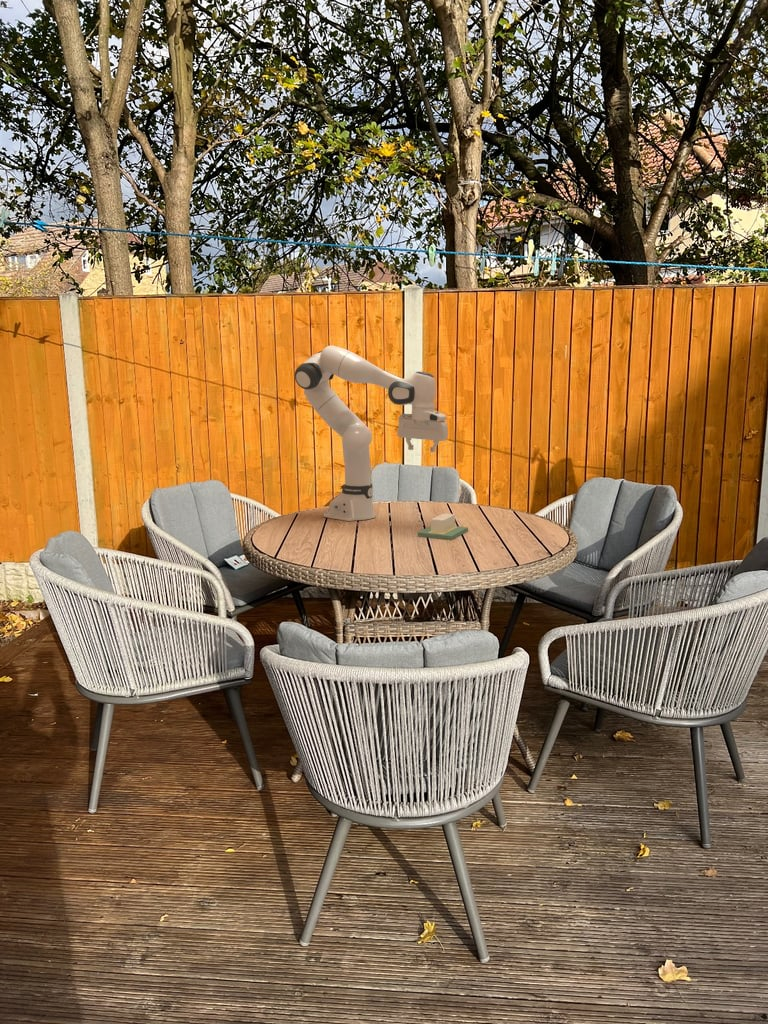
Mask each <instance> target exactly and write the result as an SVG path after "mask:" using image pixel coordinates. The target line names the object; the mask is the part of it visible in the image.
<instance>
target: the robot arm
mask: <svg viewBox="0 0 768 1024" xmlns="http://www.w3.org/2000/svg"><path fill="white" fill-rule="evenodd" d="M334 376H336V377H337V378H340V379H343V380H344V381H347V382H350V383H354V384H372V385H375V386H379V387H382V388H384V389H386V390H388V391H387V394H388V395H387V396H388V399H389V400H390V402H392V403H393V404H394V405H398V406H405V405H411V413H402V414H399V416H398V425H397V436H398V437H399V438H402V439H403V438H405V442H406V444H407V447H408V448H407V449H408V450H410V451H413V450H414V446H415V445H414V444H412V439H416V440H427V441H432V443H433V445H432V446H431V447H430V451H429V452H431V453H435V452H436V448H437V447H438V444H440V443H439V441H440V442H444V441H447V439H448V438H449V437H448V436H449V427H448V423H447V421H446V420H447V415H446V414H444V413H442V412H440V411H437V410H436V405H435V398H436V390H437V389H436V379H435V375H433V374H432V373H429V372H425V371H415V372H414V373H413V374H411V375H409V376H407V377H404V378H403V377H400V376H398V375H395V374H394V373H391V372H389V371H387V370H384V369H382V368H380V367H379V366H376V365H374V364H373V363H372V362H370V361H368V360H367V359H365V358H364V357H362V356H360V355H359V354H356V353H355V352H352V351H350V350H348V349H346V348H342V347H340V346H337V345H328V346H325V347H324V348H323V349H322V350H320V351H318V352H317V353H315V354H313V355H311V356H309V357H308V358H307V359H306V360H305V361H304V362H302V363H301V364H300V365H298V367H297V368H296V369H295V371H294V380H295V383H296V384H297V385H298V386H299V387H300V388H301V389H303V394H304V396H305V397H306V400H307V401H308V403H309V404H310V405H311V407H312V408H313V409H314V411H315V412H316V413H317V414H318V415H319V417H320V418H321V420H323V421H324V422H325V423H326V425H327V426H328V427H330V428H331V429H332V430H333V431H334V432H335V433H336V434H338V435H339V436H340V437H341V444H342V445H341V447H342V454H343V462H344V463H343V464H344V484H342V485H340V486H339V489H340V490H341V493H339V494H338V495H336V496H335V498H333V499H332V500H330V502H329V505H328V511H326V512H324V513H323V517H324V518H327V519H328V518H329V519H334V520H335V519H336V520H340V521H345V522H352V521H362V520H371V519H373V518H376V514H375V510H374V504H373V483H372V463H371V456H370V454H371V453H370V444H371V443H372V440H373V434H372V431H371V429H370V428H369V427H368V426H367V425H366V424H365V423H364V422H363V421H362V420H361V419H360V418H359V417H358V416H357V415H356V414H355V413H354V412H353V411H352V410H351V409H350V408H349V407H348V406H347V405H346V403H345V402H344V401H343V400H342V398H340V397H339V396H338V395H337V393H336V392H335V391H334V390H333V389H332V387H331V386H330V384H329V383H330V382H329V381H331V380H333V378H334Z"/></svg>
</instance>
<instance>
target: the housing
mask: <svg viewBox="0 0 768 1024" xmlns="http://www.w3.org/2000/svg"><path fill="white" fill-rule="evenodd" d="M430 526H431V532H435V533H445V532H447V531H449V530H451V529H453V528H455V526H456V514H454V513H441V514H439V515H437V516H435V517H433V518H430Z"/></svg>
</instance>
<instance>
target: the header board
mask: <svg viewBox="0 0 768 1024" xmlns="http://www.w3.org/2000/svg"><path fill="white" fill-rule="evenodd" d="M468 531H469V527H467V526H459V525H455V528H453V529H451V530H449V531H447V532H445V533H435V532H431V525H430V526H428V527H426V528H424V529H421V530H420V531H417V535H416V536H417V537H421V538H428V539H429V538H430V539H439V540H447V541H452V540H454V539H456V538H459V537H460V536H462V535H464V534H465V533H467V532H468Z"/></svg>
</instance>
